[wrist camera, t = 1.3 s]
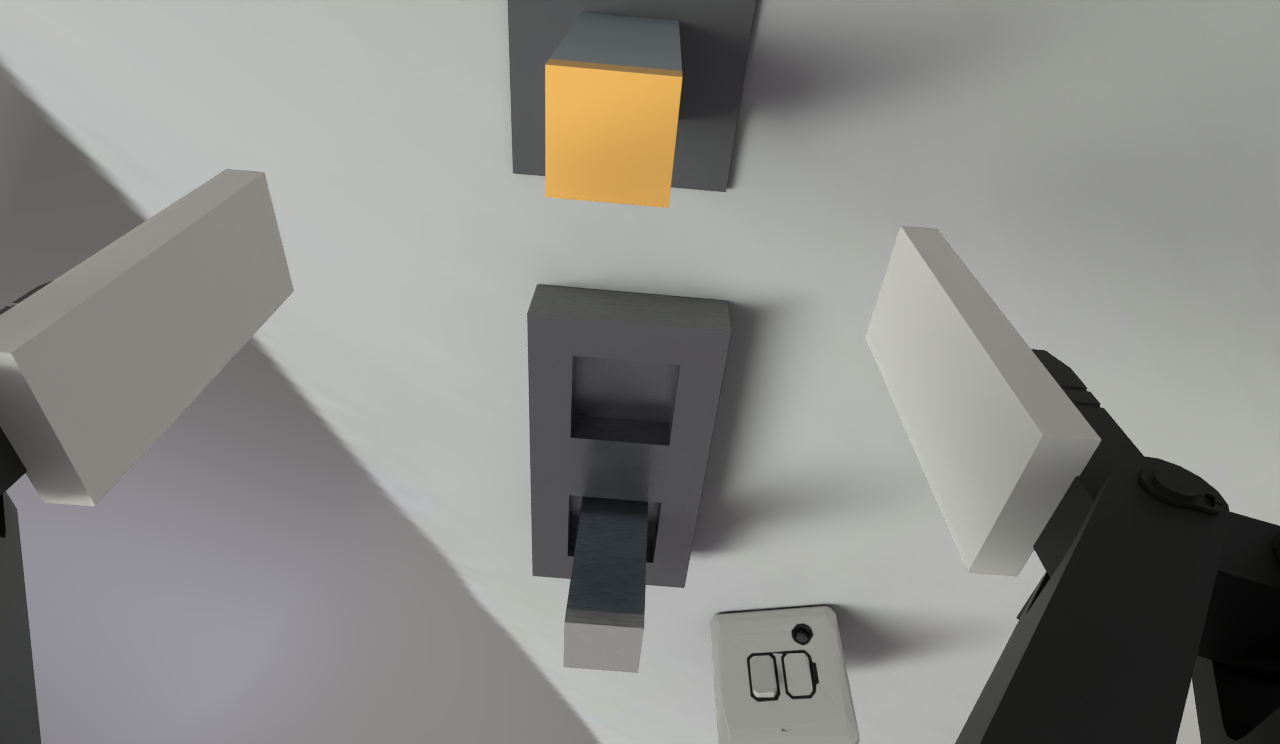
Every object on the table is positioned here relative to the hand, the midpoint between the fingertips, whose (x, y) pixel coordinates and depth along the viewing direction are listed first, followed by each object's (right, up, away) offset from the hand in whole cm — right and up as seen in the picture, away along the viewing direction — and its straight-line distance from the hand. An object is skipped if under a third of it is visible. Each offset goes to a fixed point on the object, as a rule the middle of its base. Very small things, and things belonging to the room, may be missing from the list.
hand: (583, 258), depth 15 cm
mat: (+1, +11, +15) cm, 18 cm away
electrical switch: (+12, -22, +38) cm, 45 cm away
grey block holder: (0, -6, +27) cm, 28 cm away
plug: (+1, +10, +15) cm, 18 cm away
